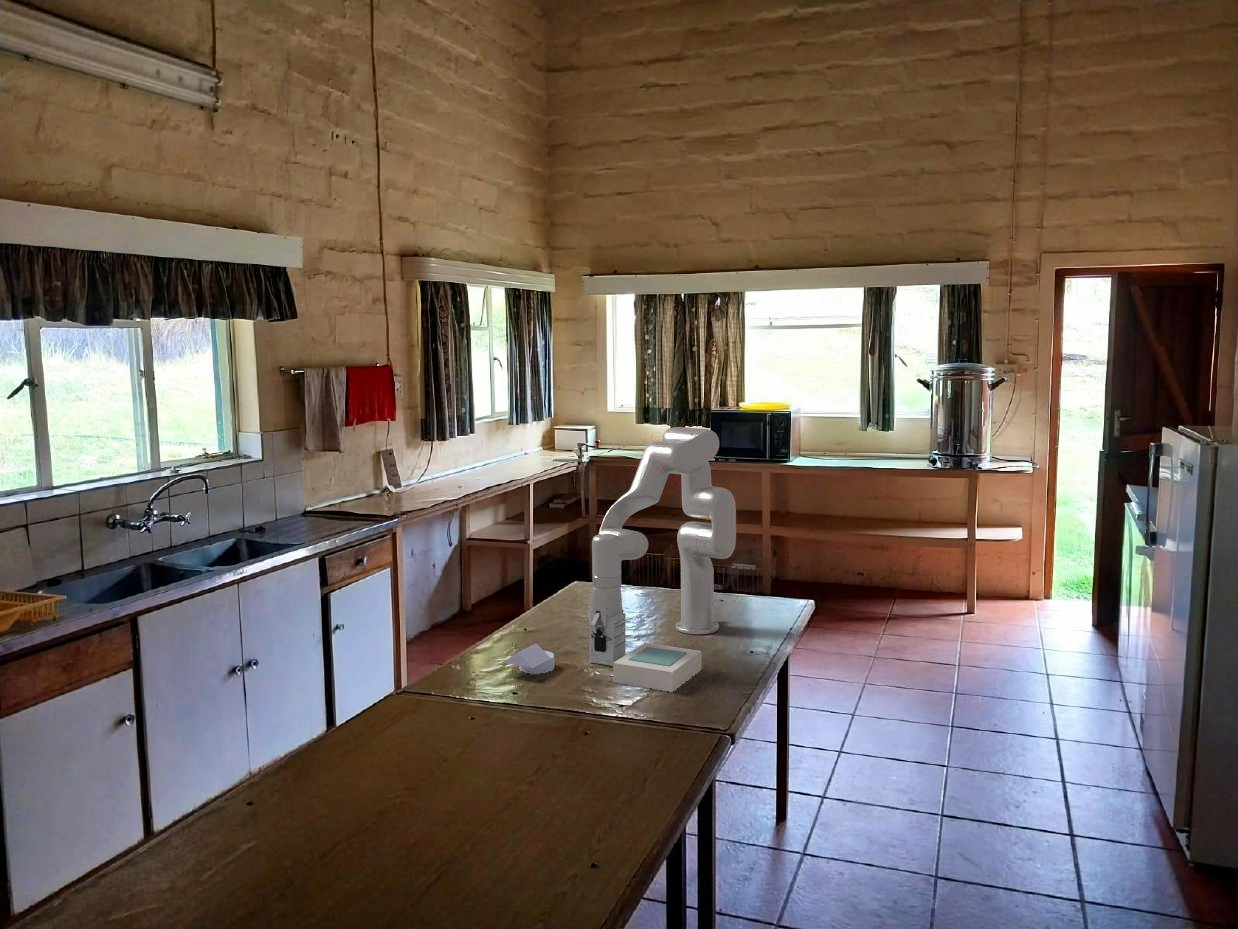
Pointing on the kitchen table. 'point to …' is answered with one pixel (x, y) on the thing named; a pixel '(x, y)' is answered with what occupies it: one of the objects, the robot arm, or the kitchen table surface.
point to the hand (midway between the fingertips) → (607, 646)
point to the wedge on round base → (533, 660)
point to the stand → (657, 667)
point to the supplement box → (610, 641)
